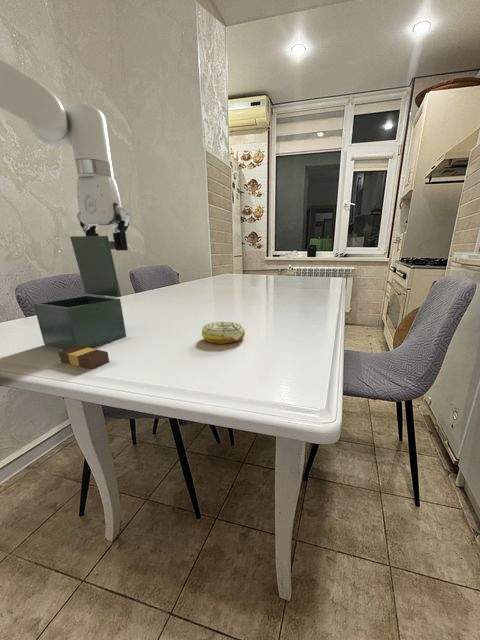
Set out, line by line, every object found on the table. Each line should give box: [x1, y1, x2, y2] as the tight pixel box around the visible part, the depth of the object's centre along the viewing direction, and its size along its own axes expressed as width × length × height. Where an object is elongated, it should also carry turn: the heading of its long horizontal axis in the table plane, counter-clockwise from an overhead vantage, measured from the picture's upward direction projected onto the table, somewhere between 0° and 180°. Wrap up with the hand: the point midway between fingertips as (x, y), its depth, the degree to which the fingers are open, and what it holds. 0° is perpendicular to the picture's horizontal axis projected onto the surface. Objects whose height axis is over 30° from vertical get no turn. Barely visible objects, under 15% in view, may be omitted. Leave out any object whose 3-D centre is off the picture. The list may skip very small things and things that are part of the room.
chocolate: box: [58, 346, 110, 370], centre depth 59 cm, size 9×4×2 cm, turn 66°
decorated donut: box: [201, 321, 246, 345], centre depth 73 cm, size 10×11×4 cm
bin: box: [33, 294, 127, 350], centre depth 70 cm, size 13×12×10 cm
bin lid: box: [69, 235, 122, 298], centre depth 73 cm, size 14×12×5 cm
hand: (107, 250), depth 74 cm, fingers open, 9 cm apart
